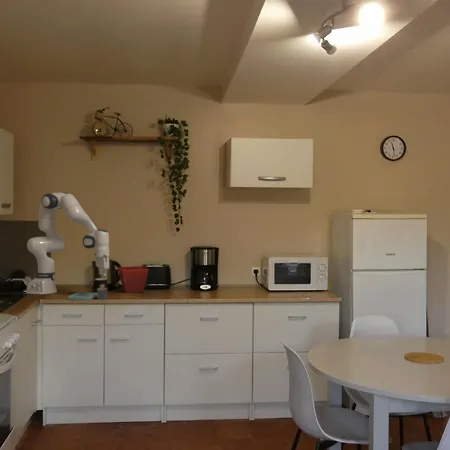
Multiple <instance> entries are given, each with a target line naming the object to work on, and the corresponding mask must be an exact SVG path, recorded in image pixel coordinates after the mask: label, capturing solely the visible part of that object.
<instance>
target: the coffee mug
mask: <svg viewBox="0 0 450 450" xmlns="http://www.w3.org/2000/svg"><path fill="white" fill-rule="evenodd" d="M108 280H109V278H106V277H105V278H104V277H100V278H95V279H94V280H93V281H90V282H89V286H90V287H91V288H92V289H94V290H96V292H97V289H98V288H108ZM91 283H94V284H95V287H94V286H92V285H91Z"/></svg>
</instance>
